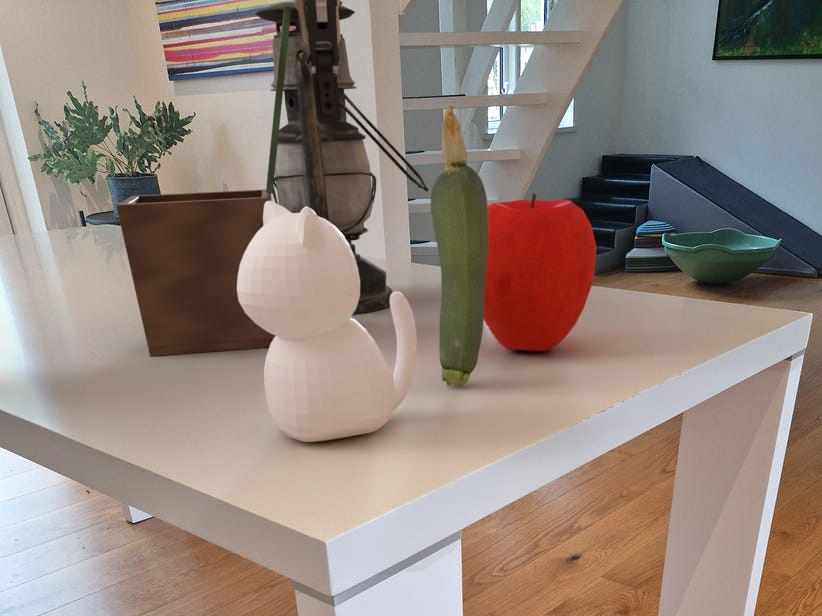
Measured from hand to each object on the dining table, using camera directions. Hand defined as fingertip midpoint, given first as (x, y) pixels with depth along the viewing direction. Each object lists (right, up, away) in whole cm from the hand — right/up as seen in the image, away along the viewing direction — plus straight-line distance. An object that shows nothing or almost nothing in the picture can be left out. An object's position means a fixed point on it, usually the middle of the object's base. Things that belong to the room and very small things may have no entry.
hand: (329, 122), depth 82 cm
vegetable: (+13, -28, -10) cm, 32 cm away
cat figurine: (+4, -34, -18) cm, 39 cm away
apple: (+19, -22, 0) cm, 29 cm away
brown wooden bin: (-12, -18, +8) cm, 23 cm away
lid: (-5, +1, -2) cm, 5 cm away
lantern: (-1, -8, +23) cm, 24 cm away
